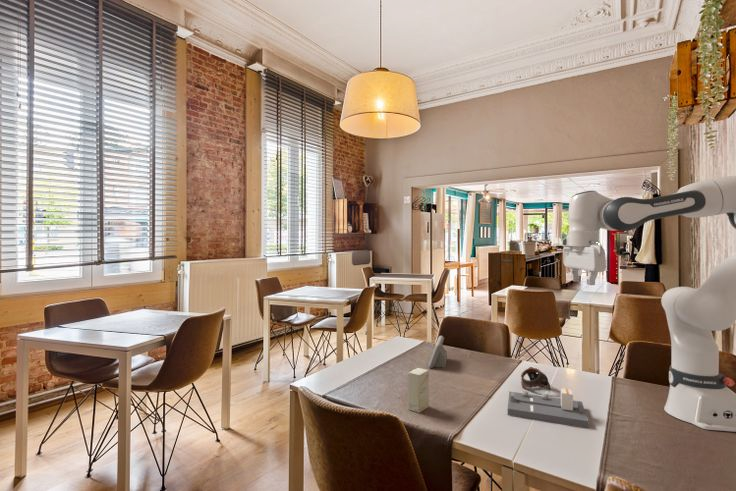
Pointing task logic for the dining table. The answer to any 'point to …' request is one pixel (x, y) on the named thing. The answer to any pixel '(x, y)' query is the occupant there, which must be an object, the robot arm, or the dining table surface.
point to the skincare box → (418, 389)
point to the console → (546, 409)
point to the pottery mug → (534, 378)
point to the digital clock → (438, 354)
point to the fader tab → (566, 399)
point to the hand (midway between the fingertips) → (583, 283)
